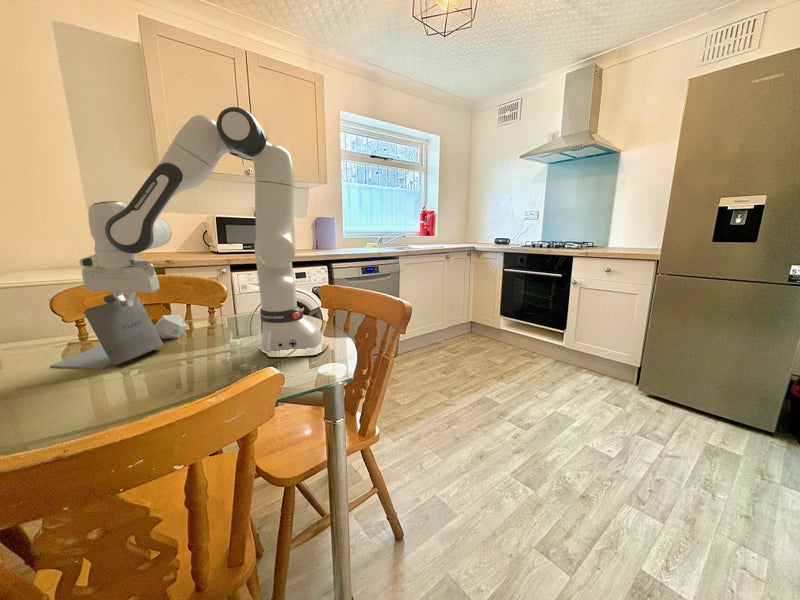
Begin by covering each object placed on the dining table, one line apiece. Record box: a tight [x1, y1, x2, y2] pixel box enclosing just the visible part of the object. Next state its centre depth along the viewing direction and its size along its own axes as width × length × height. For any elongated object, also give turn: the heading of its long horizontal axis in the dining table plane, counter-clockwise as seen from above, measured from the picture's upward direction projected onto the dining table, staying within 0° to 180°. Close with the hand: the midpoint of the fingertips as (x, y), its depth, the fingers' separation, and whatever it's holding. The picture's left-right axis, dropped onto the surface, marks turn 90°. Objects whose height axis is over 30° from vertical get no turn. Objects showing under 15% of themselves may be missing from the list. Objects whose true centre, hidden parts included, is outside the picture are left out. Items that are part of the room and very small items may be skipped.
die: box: [154, 314, 188, 340], centre depth 117 cm, size 8×9×10 cm
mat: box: [49, 344, 113, 370], centre depth 101 cm, size 16×16×1 cm
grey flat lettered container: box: [83, 293, 164, 366], centre depth 98 cm, size 15×6×20 cm, turn 167°
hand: (126, 305), depth 96 cm, fingers closed
